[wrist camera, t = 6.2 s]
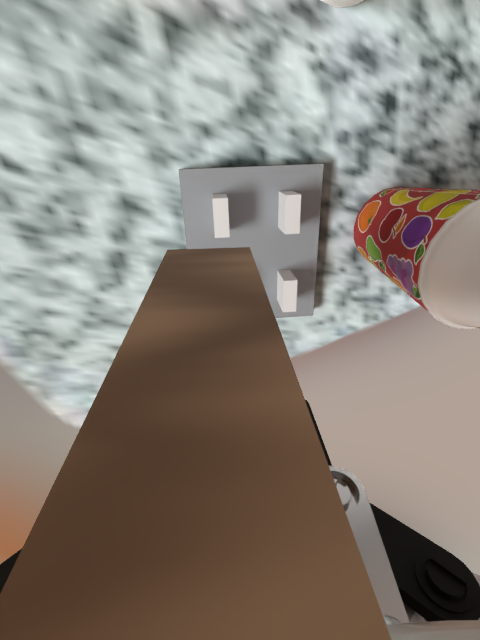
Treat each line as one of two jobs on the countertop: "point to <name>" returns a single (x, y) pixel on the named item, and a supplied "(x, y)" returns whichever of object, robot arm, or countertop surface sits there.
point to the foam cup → (342, 3)
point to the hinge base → (261, 224)
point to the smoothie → (427, 248)
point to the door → (195, 487)
